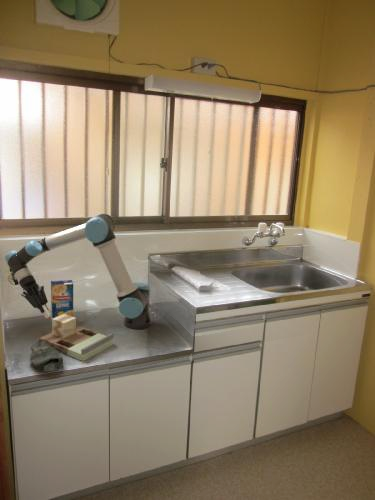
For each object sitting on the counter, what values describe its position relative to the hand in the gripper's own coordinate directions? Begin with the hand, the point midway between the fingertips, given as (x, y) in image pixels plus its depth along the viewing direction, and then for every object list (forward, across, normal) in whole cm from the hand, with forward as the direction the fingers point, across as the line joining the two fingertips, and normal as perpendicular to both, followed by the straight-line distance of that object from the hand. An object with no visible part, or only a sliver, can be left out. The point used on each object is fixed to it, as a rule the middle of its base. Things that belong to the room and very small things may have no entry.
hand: (48, 317), depth 211 cm
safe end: (+26, 0, +14) cm, 30 cm away
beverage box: (+2, -15, -11) cm, 19 cm away
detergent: (+20, +20, +7) cm, 29 cm away
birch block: (+12, 0, +3) cm, 12 cm away
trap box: (+16, 0, +4) cm, 17 cm away
